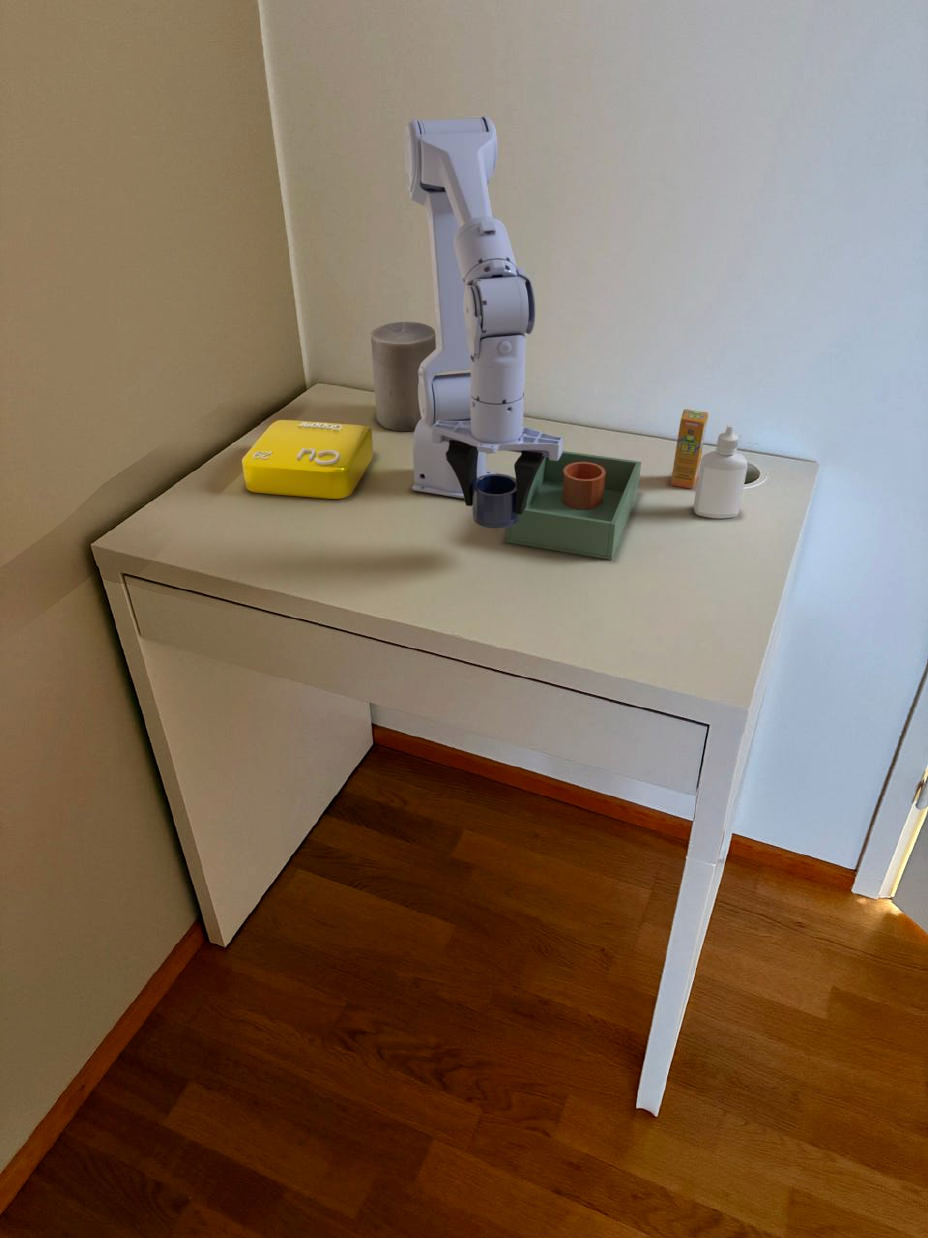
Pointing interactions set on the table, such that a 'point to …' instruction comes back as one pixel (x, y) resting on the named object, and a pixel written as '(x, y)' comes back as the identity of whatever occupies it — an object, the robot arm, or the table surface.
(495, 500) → the navy cup
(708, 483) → the eye dropper bottle
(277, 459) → the element tile
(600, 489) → the terracotta cup
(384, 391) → the pillar candle
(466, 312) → the robot arm
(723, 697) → the table surface
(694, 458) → the supplement box
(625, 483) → the sage tub
